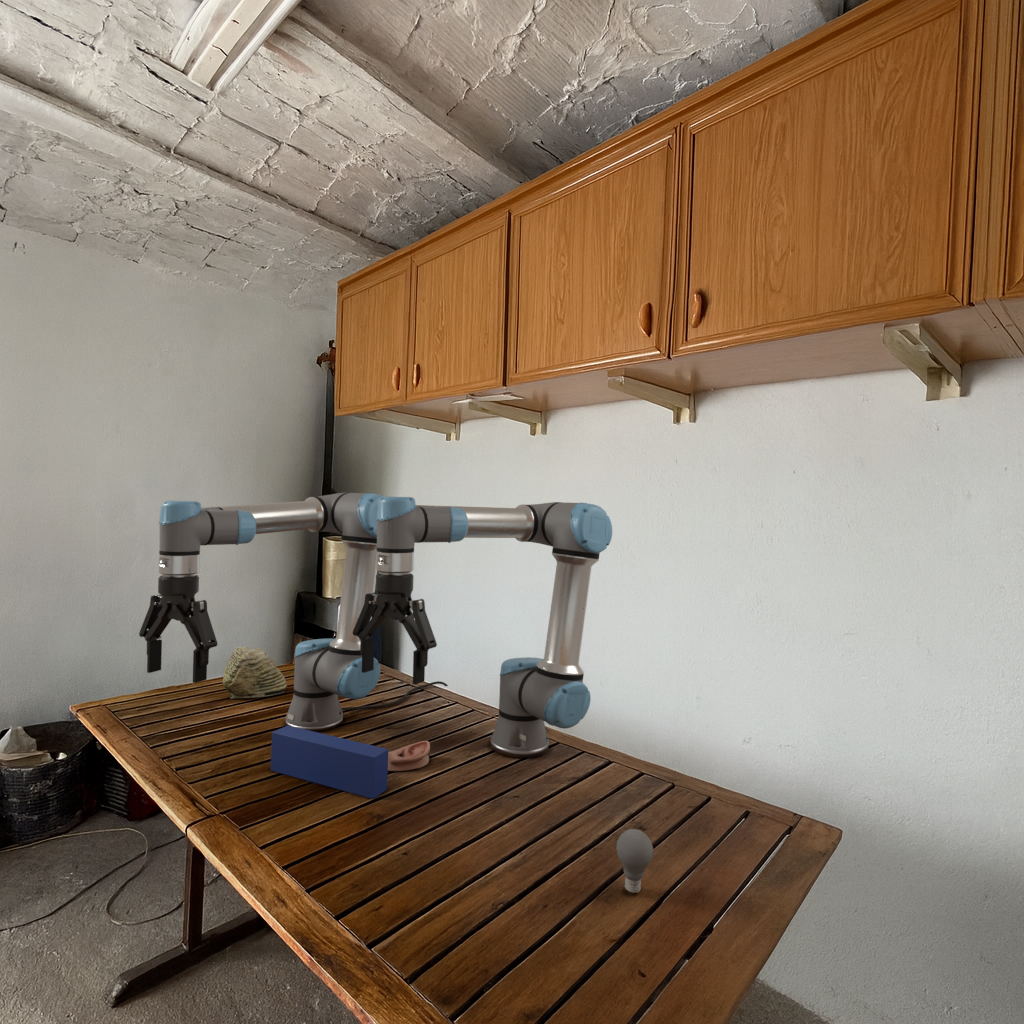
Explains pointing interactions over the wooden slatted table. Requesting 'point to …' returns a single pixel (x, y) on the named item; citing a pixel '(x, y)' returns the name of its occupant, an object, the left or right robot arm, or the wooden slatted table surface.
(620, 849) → the light bulb
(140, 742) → the wooden slatted table surface
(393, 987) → the wooden slatted table surface
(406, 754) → the anatomical model
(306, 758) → the bar
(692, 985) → the wooden slatted table surface
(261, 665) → the fossil
